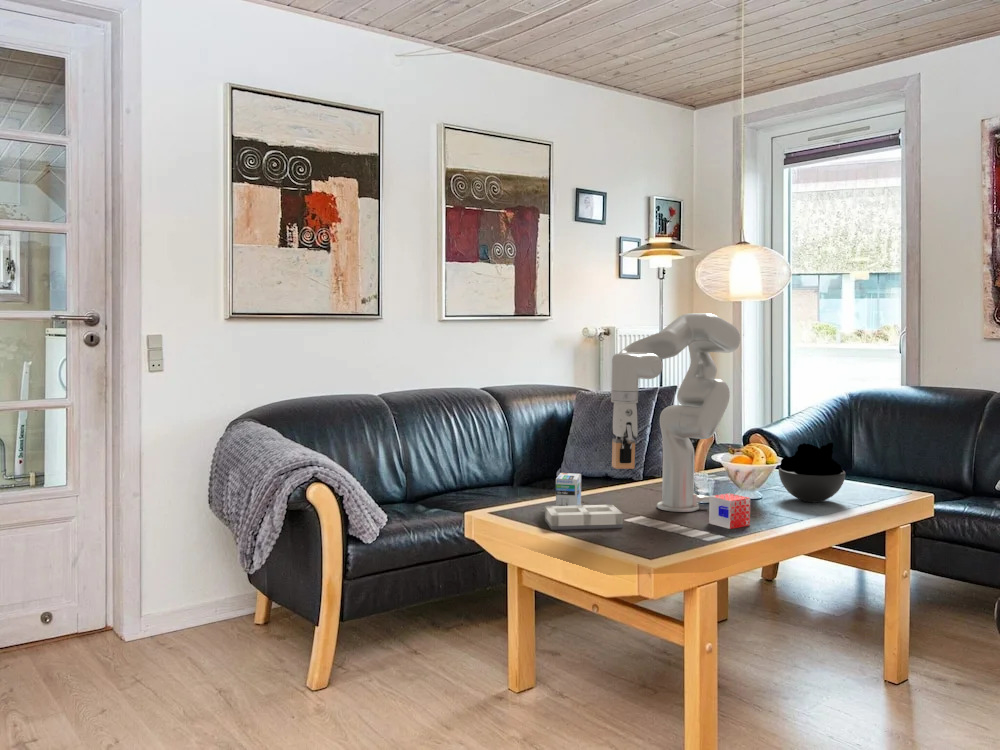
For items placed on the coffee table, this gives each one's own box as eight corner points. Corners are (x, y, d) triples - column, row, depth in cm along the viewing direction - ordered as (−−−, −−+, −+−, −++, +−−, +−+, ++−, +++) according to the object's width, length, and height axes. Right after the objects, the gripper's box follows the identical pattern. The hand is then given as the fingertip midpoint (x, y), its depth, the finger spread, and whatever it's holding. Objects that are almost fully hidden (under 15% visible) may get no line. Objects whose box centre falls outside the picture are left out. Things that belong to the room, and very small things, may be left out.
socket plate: (612, 518, 254) (612, 504, 254) (622, 527, 242) (622, 513, 242) (544, 519, 252) (544, 506, 252) (551, 529, 240) (551, 515, 240)
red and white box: (749, 525, 245) (750, 497, 245) (730, 529, 241) (730, 500, 240) (728, 520, 252) (728, 493, 251) (708, 523, 248) (709, 496, 247)
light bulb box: (577, 515, 258) (577, 479, 257) (555, 514, 259) (555, 478, 259) (581, 507, 269) (581, 473, 268) (559, 506, 270) (559, 472, 269)
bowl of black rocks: (781, 506, 270) (782, 446, 268) (775, 494, 289) (776, 437, 288) (849, 509, 265) (851, 448, 264) (839, 496, 285) (840, 439, 283)
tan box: (630, 466, 249) (631, 438, 249) (634, 468, 245) (635, 440, 245) (611, 466, 249) (612, 438, 248) (615, 468, 245) (616, 440, 244)
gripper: (646, 399, 238) (644, 466, 239) (629, 395, 255) (627, 457, 256) (619, 399, 237) (617, 466, 238) (604, 395, 254) (602, 457, 255)
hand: (623, 461), depth 247 cm, fingers closed on tan box, 4 cm apart
